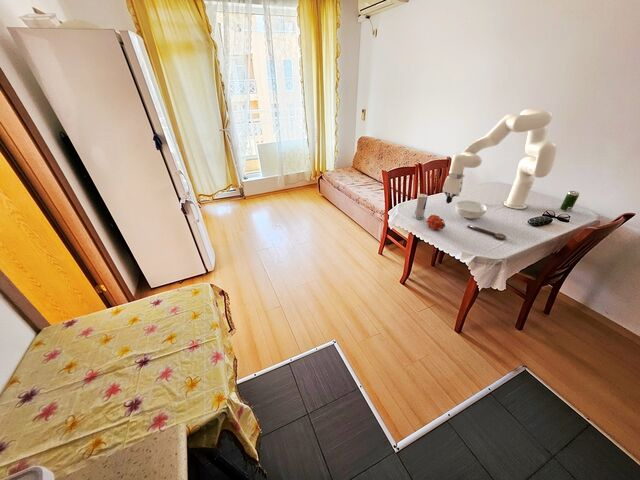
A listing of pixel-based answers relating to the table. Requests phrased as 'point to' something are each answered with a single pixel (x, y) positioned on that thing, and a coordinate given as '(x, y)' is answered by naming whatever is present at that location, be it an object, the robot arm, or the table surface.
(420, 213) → the beverage can
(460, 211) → the cereal bowl
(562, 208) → the beer can
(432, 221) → the dragon fruit
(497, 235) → the wooden spoon
